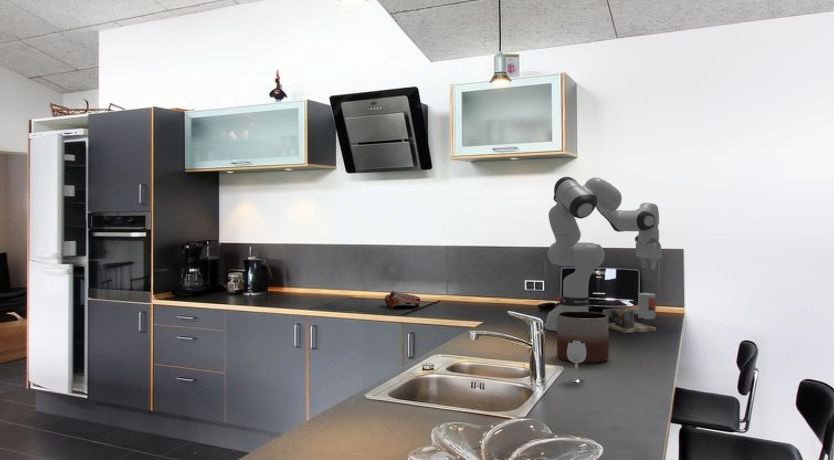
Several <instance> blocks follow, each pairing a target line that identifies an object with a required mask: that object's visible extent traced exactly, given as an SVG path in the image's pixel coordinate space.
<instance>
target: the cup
mask: <svg viewBox="0 0 834 460" xmlns="http://www.w3.org/2000/svg"><path fill="white" fill-rule="evenodd" d="M637 296H638V297H637V298H638V299H637V300H638V301H637V303H638V304H637V307H638V308H637V310H647V309H648V298H655V304H656V296H657V295H656V294H655V293H650V292H649V293H648V292H640V293H637ZM637 317H638V319H641V318H643V319H642V320H655V319H656V309H655V310H654V314H637Z"/></svg>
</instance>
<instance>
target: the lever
mask: <svg viewBox="0 0 834 460" xmlns="http://www.w3.org/2000/svg"><path fill="white" fill-rule="evenodd" d="M629 310H630V309H620V308H614V309H607V308H606V309H602V313H603V314H606V315H608V318H615V315H618V314H619V312H620V311H624V312H625V311H629ZM632 310H633V311H634V315H638V314H654V310H655V311H656V303H655V298H648V309H647V310H638V309H632Z"/></svg>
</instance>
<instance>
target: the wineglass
mask: <svg viewBox="0 0 834 460" xmlns="http://www.w3.org/2000/svg"><path fill="white" fill-rule="evenodd" d="M567 357H568V359H569V360H570V361H571V362H570V363H573V364H574V363H575V364H574V369H575V377H574V378H571V379H569V380H568V382H570V381H571V382H570V383H572V382H577V383H576V384H581V383H580V382H583V381H584V380H583V379H579V377H578V370H579V364H582V363H581V362H583V361H584V360H585V358H586V347H585V343H584V342H582V341H569V343H568V347H567ZM583 383H584V382H583Z"/></svg>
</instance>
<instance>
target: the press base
mask: <svg viewBox="0 0 834 460" xmlns="http://www.w3.org/2000/svg"><path fill="white" fill-rule="evenodd" d="M628 310H629V311H625V312H624V311H620V312H619V314H618V315H615V317H614V322H613V323H609V322H608V329H610V330H613V331H617V332H620V333H624V334H625V333H647V332H657V327H655V326H651V325H647V324H645V323H640V322H637V321H635V314H634V311H633V310H634V309H628Z"/></svg>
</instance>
